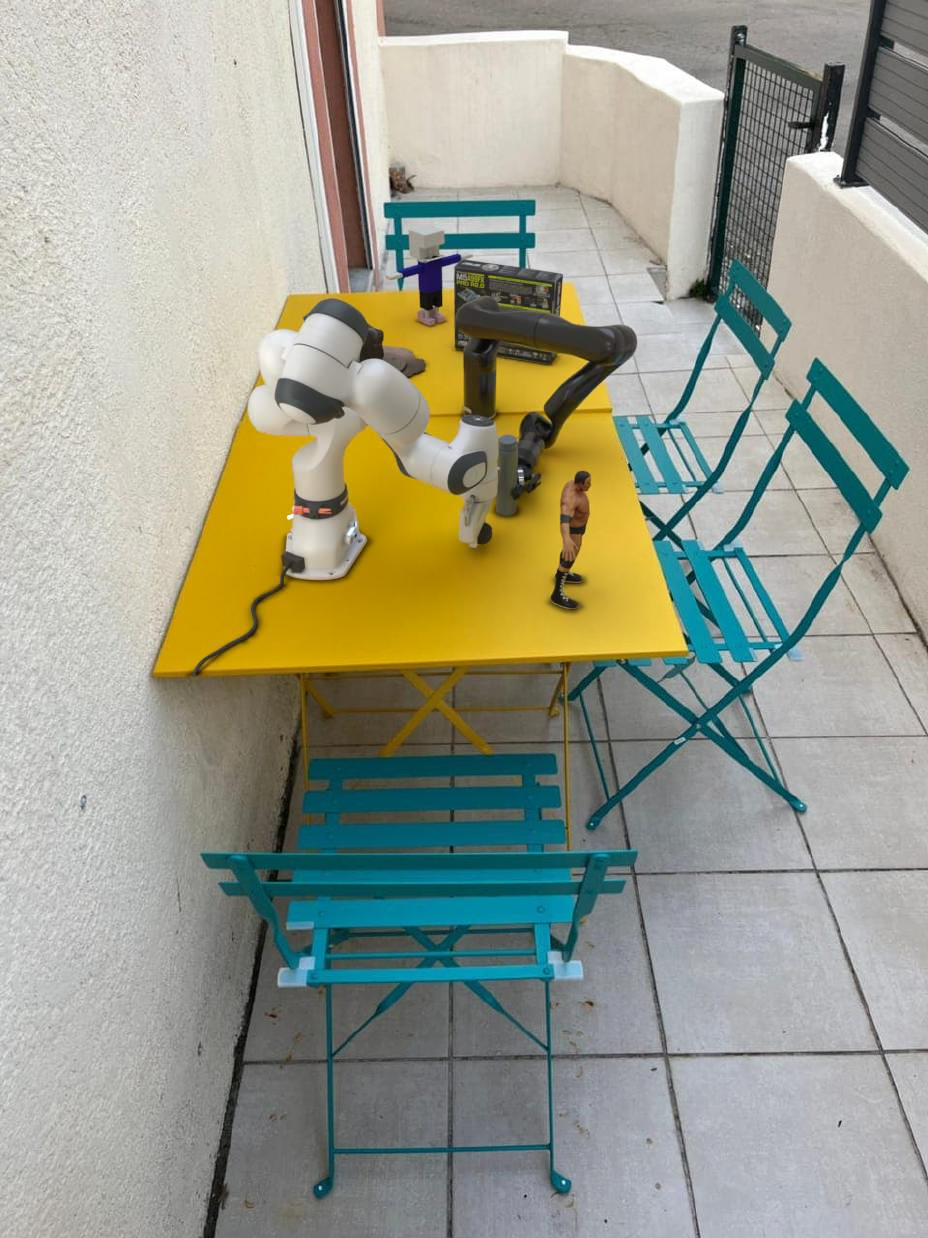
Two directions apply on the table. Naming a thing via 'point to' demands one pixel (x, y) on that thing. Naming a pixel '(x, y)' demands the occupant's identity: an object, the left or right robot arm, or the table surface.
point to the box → (508, 298)
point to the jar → (507, 475)
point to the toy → (428, 270)
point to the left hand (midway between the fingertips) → (477, 537)
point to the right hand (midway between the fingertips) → (503, 494)
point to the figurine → (571, 534)
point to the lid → (485, 534)
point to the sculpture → (389, 353)
